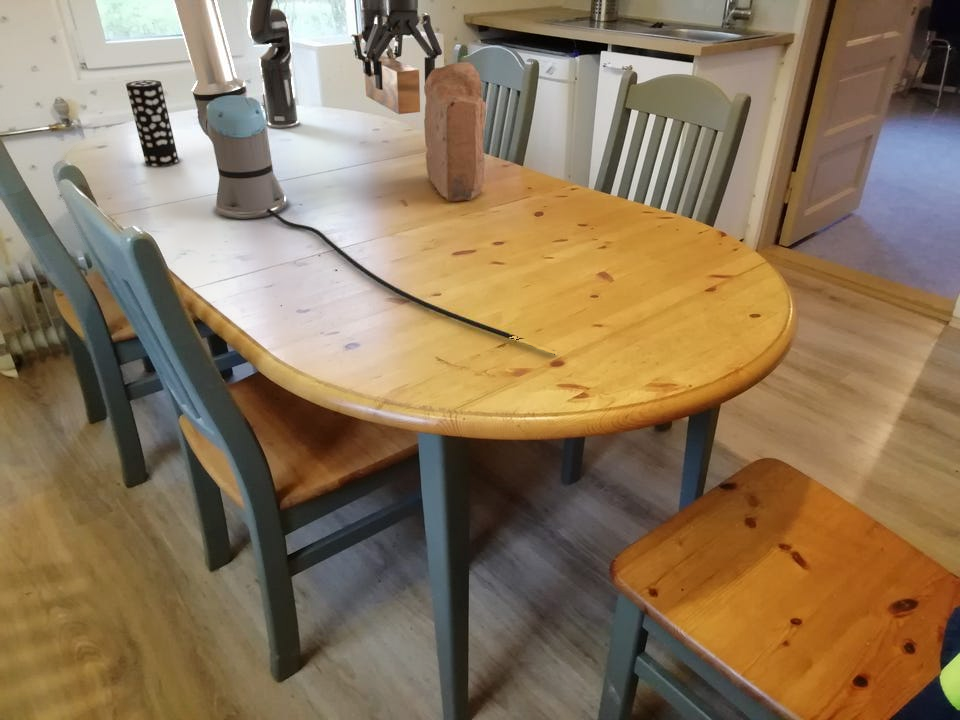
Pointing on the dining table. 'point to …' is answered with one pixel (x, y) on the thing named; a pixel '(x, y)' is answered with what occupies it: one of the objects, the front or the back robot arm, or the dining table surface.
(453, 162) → the stone
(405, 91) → the box
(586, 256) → the dining table surface
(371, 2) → the back robot arm
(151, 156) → the black white spotted cylinder
